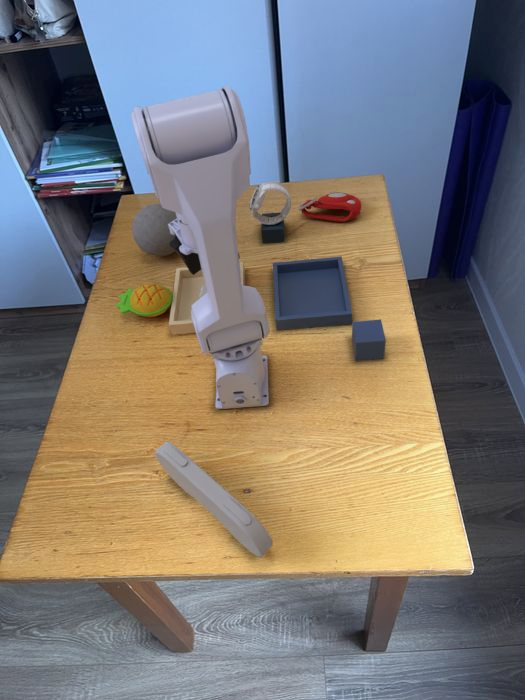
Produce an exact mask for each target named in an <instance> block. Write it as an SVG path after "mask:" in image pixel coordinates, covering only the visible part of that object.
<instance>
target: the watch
mask: <svg viewBox="0 0 525 700" xmlns="http://www.w3.org/2000/svg"><path fill="white" fill-rule="evenodd" d="M269 191H270V192H272V191H274V192H278V193H281V194H283V195H284V196H285V197H286V201H285V204H284V207H283V208H282V209H281V211H279V212H265V213H259V212H258V211H259V210H260V209H261V207H262V205H263V203H264V200H265V198H266V194H267V192H269ZM291 206H292V198H291V193H290V191H289V190H288V189H287V187H286V186H285V185H283V184H281V183H279V182H274V181H270V182H269V181H268V182H263V183H262V184H258V185H257V186H256V187H255V189H254V192H253V193H252V195H251V199H250V203H249V211H251V216H252V217H253V218H254V220H255V221H256V222H258V223H260V224H261V225H260V226H261V227H260V233H261V240H262V244H272V243H273V244H275V243H276V244H277V243H285V238H286V237H285V234H286V233H285V231H286V230H285V228H286V227H285V220H286V218H287V216H288V215H289V213H290V210H291V208H292V207H291Z"/></svg>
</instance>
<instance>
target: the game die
mask: <svg viewBox="0 0 525 700" xmlns="http://www.w3.org/2000/svg"><path fill="white" fill-rule="evenodd" d="M206 293H207V290H206V286H205V285H203V286H202V288H201V291H200V295H199V297H200V298H201V297H202V296H204V295H205V294H206Z"/></svg>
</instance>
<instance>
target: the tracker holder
mask: <svg viewBox="0 0 525 700" xmlns="http://www.w3.org/2000/svg"><path fill="white" fill-rule="evenodd" d="M298 207H299V208H298V211H299V212H301V213H302V214H303V216H306V217H308V218H312V219H315V220H323V221H324V220H325V221H333V222H339V223H340V222H346V221H350V220H353V219H355V218H357V217H358V216H359V214H360V212H361V210H362V202H361V200H360V199H359V197H357V196H355V195H352V194H348V193H346V192H339V191H338V192H336V191H335V192H330V193H327V194H326V195H325V194H324V195H323V196H320V197H319V198H318V197H315V198H313V199H308V200H305V201H304V202H302V203H301V204H300V205H299V206H298ZM312 207H313V208H315V209H323V210H324V209H325V210H326V209H327V210H344V211H348V212H350V213H349V214H348V216H342V215H334V214H333V215H332V214H323V213H315V212H311V211H309V210H311V209H312Z"/></svg>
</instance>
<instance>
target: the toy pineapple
mask: <svg viewBox="0 0 525 700" xmlns="http://www.w3.org/2000/svg"><path fill="white" fill-rule="evenodd" d="M118 298H119V299H120V300H121V301H120V302H118V303H116V304H115V307H116V308H117V309H120V313H121V314H122V315H125V314H127V313H130V312H132V313H134V314H136V315H139V316H141V317H145V318H147V317H148V318H153V317H157V316H161V315H163V314H164V313H165V312H166V311H168V310H169V308H170V307H171V305H172V298H173V292H172V291H171V290H170V289H169V288H168V287H165V286H163V285H161V284H158V283H146V284H143V285H140V286H138V287H137V288H135V289H132V288H128V289H127V290H126V292H124V293H121V294H119V295H118Z"/></svg>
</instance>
